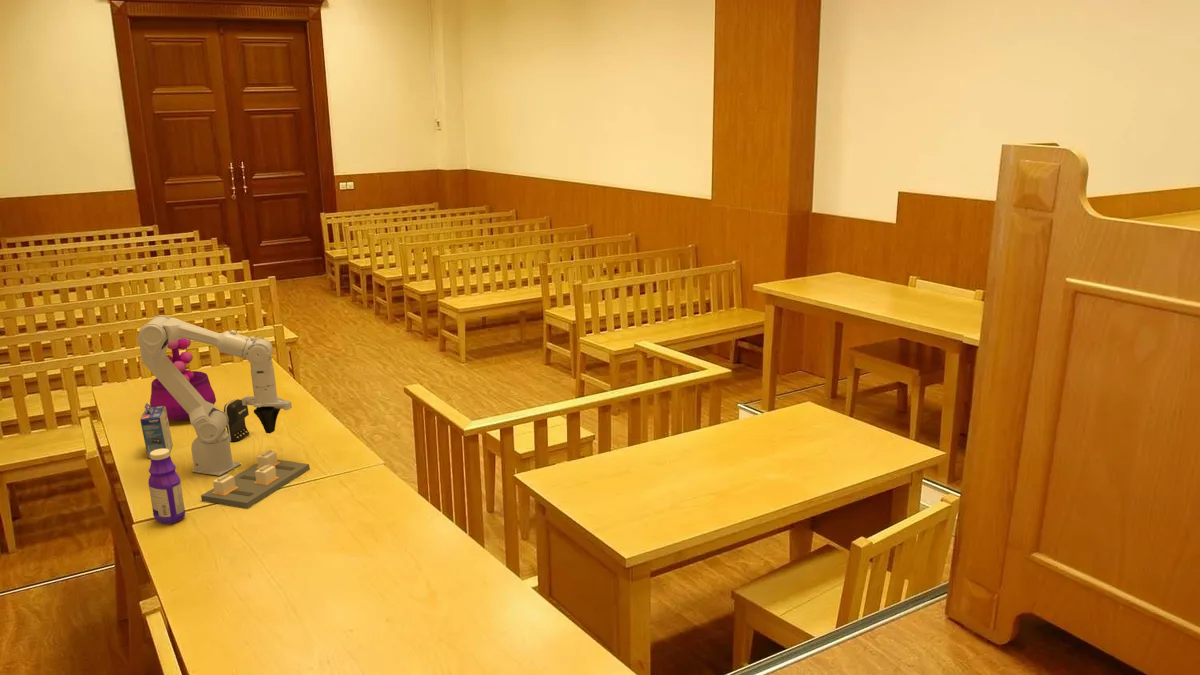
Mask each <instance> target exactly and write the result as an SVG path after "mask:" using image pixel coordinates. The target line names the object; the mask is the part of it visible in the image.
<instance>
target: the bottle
mask: <svg viewBox="0 0 1200 675" xmlns="http://www.w3.org/2000/svg"><path fill="white" fill-rule="evenodd" d="M170 452H171V451H170ZM170 452H169V449H156V450H154V451H152V452H151V453H150V457H151V459H150V467H149V468H148V473H149V474H150V475H149V478H148V482H147V483H148V489H149V496H150V502H151V503H150V504H151V509H152V515H153V517H154V519H155V520H156V521H157V522H158V523H162V524H168V525H169V524H174V523H178V522H179V521H181V520H182V519H184V518H185V516H186V510H185V509H186V508H185V501H184V496H183V495H184V494H183V488H182V484H181V482H182V481H181V478H180V476H179V474H178V473H177V472H176V468H177V466H176V464H174V462H173V460H172V457H171V453H170Z"/></svg>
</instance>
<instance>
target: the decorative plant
mask: <svg viewBox="0 0 1200 675" xmlns="http://www.w3.org/2000/svg"><path fill="white" fill-rule="evenodd" d="M191 344H192V340H189V339H184V338H183V339H179V340H176V341H173V342H168V347H167V349H170V350H171V355H170V354H166V356H167V357H168V358H169V359H170V361H171V362H172V363H173V364H174V365H175V366H176V367H177V369H178V370H179V371H180V372H181V373H182V374H183V376H184V377H185V378H186V379H187V380H188V381H189V382H190V384H191V385H192V386H193V387H194V388H195V389H196V390H197V392H198V393H199V394H200V395H201V396H202V397H203V399H204V400H205V401H207V402H209V403H212V404H213V405H214V406H215V404H216V402H217V398H216V394H215V392H214V390H213V387H212V385H211V382H210V379H209V376H208V374H207V373H205V372H204V371H198V370H197V371H196V370H190V369H187V365H186V364H190V363H191V362H192V361H193V359H194V356H193V354H192V353H191V352H190V351H184V352H181V353H180V350H187V349H188V348H189V347H190V346H191ZM150 386H151V389H150V390H151V393H150V400H149V405H150V406H151V407H158V406H165V407H166V412H167V417H168V421H183V420H190V417H189V414H188V413H187V412H186V411H185V410H184V408H183V407H182V406H181V405H180V404H179V403H178V402H177V400H176V399H175V398H174V397H173V396H172V395H171V394H170V393H169V391H168V390H167V389H166V388H165V387H164V386H163V385H162V384H161V382H160V381H159V380H158V379H157V378H156V377H155V379H153V380H152V381H151V385H150Z"/></svg>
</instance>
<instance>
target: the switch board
mask: <svg viewBox="0 0 1200 675" xmlns="http://www.w3.org/2000/svg"><path fill="white" fill-rule="evenodd" d="M277 461H278V463H276V464H274V465H273V466H275V469H276V478H275V479H273V480H271V481H270V482H268V483H266V484H265V483H258V482H256V475H255V471H257V470H258V469H260V468H262V467H258V462H256V463H254V464H253V465H252V466H250V467H248V468H246V469H245V470H243V471H241V472H239V473H237V474H236V475H234V479H235V486H236V487H235V488H234V489H232V490H230V491H228V492H227V493H225V494H222V493H215V492H214V487H213V488H211V489H210V490H208V491H206V492H204V493H202V494H201V495H200V499H201V502H205V501H206V502H208V503H211V502H212V503H213V504H217V503H218V504H219V505H223V504H224V506H230V507H236V508H242V507H243V509H249V508H252V507H253V506H254V505H255V504H257V503H260V502H261V501H262V500H263V499H265V498H267V497H269V495H271V494H273V493H274V492H276V491H278V490H280V489H281V488H283V487H284V486H286V485H288V484H289V483H290V482H292V481H293V480H296V479H297V478H298V477H300V476H301V475H303V474H305V473H306V472H308V471H309V470H310V467H311V466H310V464H309V463H305V462H304V463H302V462H298V461H297V462H296V461H289V460H283V459H277ZM206 502H205V503H206Z"/></svg>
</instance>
